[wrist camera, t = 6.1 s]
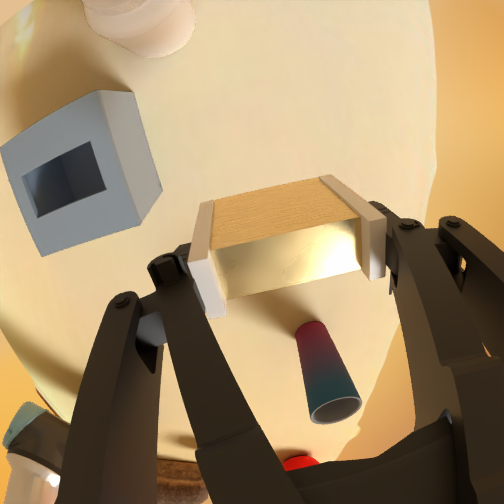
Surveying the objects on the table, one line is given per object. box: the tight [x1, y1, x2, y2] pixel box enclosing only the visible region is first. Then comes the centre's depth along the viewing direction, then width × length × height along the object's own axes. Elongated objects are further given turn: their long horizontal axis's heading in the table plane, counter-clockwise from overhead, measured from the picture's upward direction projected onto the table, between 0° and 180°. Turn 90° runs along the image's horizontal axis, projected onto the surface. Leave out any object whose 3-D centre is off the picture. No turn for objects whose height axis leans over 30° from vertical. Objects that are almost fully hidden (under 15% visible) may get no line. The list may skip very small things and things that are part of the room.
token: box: [210, 178, 362, 300], centre depth 14 cm, size 6×2×6 cm, turn 102°
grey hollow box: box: [0, 90, 163, 257], centre depth 25 cm, size 12×12×10 cm
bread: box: [157, 459, 209, 504], centre depth 64 cm, size 15×32×16 cm, turn 80°
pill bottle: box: [82, 0, 196, 58], centre depth 16 cm, size 8×8×15 cm
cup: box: [296, 321, 362, 424], centre depth 38 cm, size 7×7×15 cm
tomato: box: [282, 456, 320, 471], centre depth 67 cm, size 16×14×14 cm
